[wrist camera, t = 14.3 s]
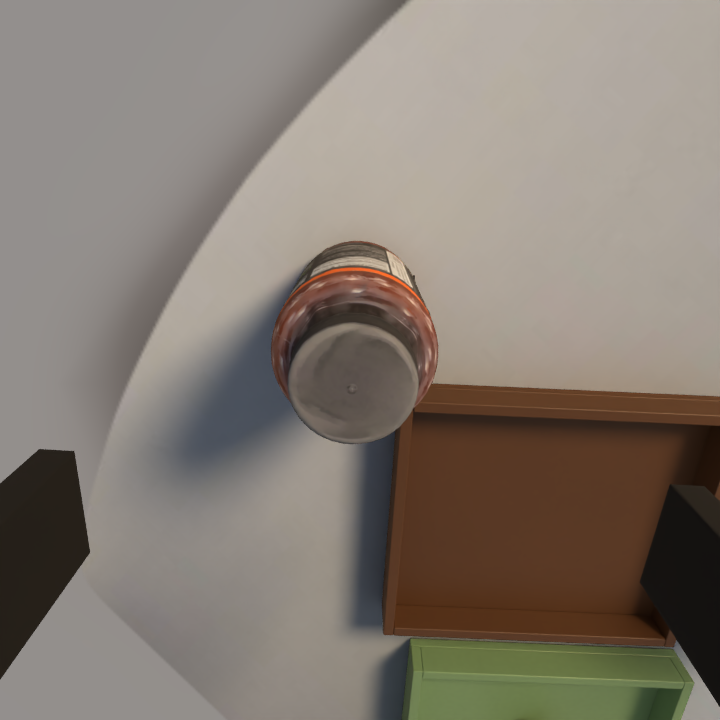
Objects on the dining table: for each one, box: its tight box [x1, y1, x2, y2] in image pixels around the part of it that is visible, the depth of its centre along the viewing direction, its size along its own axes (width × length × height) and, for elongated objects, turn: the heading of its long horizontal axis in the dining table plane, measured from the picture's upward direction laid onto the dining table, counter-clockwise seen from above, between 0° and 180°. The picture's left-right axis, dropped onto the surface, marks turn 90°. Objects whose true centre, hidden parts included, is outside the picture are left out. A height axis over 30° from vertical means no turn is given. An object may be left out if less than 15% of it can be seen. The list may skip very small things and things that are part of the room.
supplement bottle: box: [271, 241, 438, 444], centre depth 21 cm, size 6×6×11 cm
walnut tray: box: [382, 384, 720, 647], centre depth 30 cm, size 17×15×2 cm
